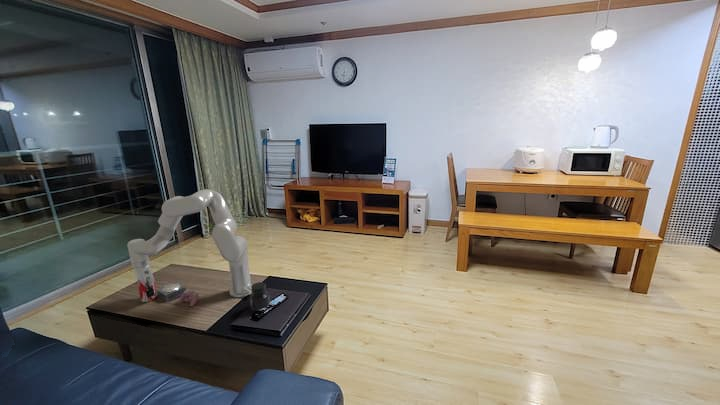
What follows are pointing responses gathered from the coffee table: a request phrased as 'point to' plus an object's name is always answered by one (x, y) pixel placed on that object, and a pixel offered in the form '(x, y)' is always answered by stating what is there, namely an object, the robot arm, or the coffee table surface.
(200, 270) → the coffee table surface
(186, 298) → the video game controller
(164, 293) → the motor block
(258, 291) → the ink bottle
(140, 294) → the soda can
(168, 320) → the coffee table surface
